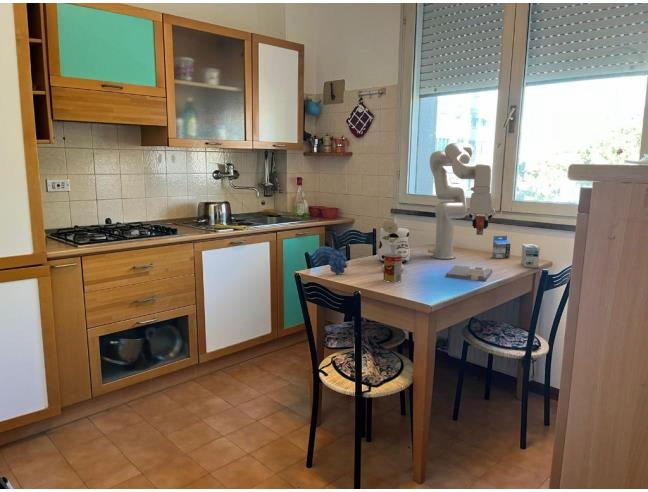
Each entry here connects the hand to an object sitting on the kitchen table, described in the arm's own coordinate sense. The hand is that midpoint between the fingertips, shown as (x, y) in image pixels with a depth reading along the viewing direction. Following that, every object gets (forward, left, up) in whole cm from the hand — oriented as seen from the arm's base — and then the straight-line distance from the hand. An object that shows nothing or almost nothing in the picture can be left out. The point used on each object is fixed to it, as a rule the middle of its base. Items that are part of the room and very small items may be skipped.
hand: (480, 227), depth 228 cm
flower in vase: (-39, -16, -22) cm, 47 cm away
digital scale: (-3, -6, -22) cm, 23 cm away
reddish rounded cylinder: (0, 0, -3) cm, 3 cm away
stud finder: (+2, -12, -21) cm, 24 cm away
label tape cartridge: (+5, +43, -22) cm, 49 cm away
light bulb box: (+21, +29, -22) cm, 42 cm away
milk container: (-45, +4, -22) cm, 50 cm away
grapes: (-58, -37, -22) cm, 72 cm away
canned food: (-32, -35, -22) cm, 52 cm away
